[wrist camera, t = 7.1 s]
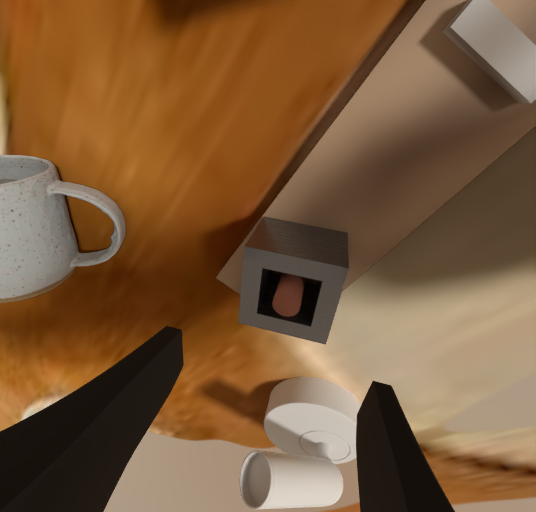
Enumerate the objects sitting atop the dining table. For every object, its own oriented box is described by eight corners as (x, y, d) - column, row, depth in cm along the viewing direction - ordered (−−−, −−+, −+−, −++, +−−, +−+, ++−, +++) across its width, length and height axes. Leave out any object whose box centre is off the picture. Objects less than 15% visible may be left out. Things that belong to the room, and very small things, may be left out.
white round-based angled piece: (294, 489, 16) (401, 574, 18) (311, 353, 24) (383, 423, 26) (199, 506, 20) (296, 574, 22) (241, 385, 28) (308, 444, 30)
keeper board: (646, 12, 11) (883, -51, 6) (296, 321, 22) (283, 385, 17) (518, -125, 10) (678, -322, 5) (221, 269, 21) (186, 320, 17)
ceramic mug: (30, 249, 25) (-78, 304, 19) (-11, 150, 21) (-169, 176, 14) (141, 267, 23) (66, 334, 17) (120, 163, 19) (9, 200, 13)
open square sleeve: (347, 232, 17) (348, 268, 13) (328, 300, 19) (325, 344, 16) (263, 216, 17) (244, 246, 14) (256, 283, 20) (238, 322, 16)
